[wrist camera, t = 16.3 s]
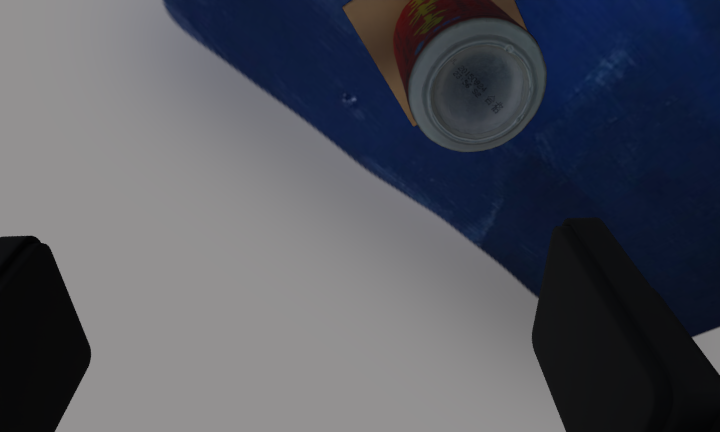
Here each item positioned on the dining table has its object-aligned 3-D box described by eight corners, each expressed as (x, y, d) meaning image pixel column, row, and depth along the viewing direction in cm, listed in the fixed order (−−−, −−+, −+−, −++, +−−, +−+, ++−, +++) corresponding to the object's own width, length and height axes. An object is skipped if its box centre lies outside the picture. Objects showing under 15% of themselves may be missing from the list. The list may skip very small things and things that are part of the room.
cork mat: (342, 6, 36) (342, 7, 36) (477, -83, 34) (479, -82, 33) (412, 124, 41) (413, 127, 41) (536, 54, 38) (538, 56, 38)
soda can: (447, 102, 40) (484, 182, 29) (370, 45, 37) (379, 110, 27) (516, 21, 37) (583, 77, 26) (436, -47, 34) (475, -14, 24)
